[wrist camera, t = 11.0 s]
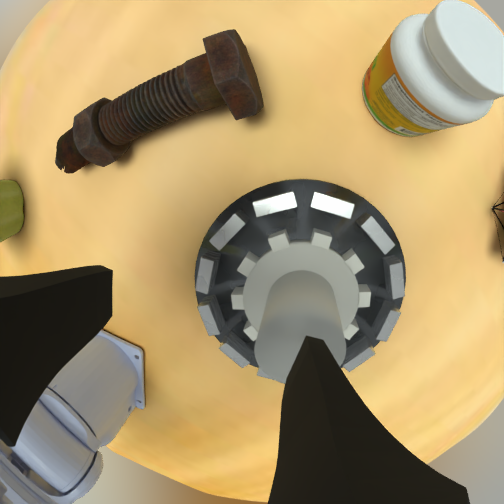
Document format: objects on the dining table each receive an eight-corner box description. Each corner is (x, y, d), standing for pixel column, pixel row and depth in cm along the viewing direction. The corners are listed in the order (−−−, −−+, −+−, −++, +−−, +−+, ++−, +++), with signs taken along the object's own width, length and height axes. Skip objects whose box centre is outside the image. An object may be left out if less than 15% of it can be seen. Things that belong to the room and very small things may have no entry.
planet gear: (337, 357, 18) (345, 423, 12) (225, 328, 19) (196, 388, 13) (384, 249, 15) (425, 291, 9) (253, 211, 16) (226, 234, 10)
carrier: (353, 381, 19) (357, 402, 17) (188, 338, 21) (176, 356, 18) (428, 218, 15) (445, 225, 13) (222, 155, 16) (209, 152, 14)
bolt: (94, 147, 20) (259, 77, 16) (84, 197, 18) (269, 128, 14) (49, 115, 14) (229, 11, 10) (29, 168, 13) (235, 51, 9)
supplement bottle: (393, 49, 12) (453, -27, 3) (447, 109, 13) (541, 78, 3) (343, 90, 14) (386, 8, 5) (402, 154, 14) (500, 143, 5)
